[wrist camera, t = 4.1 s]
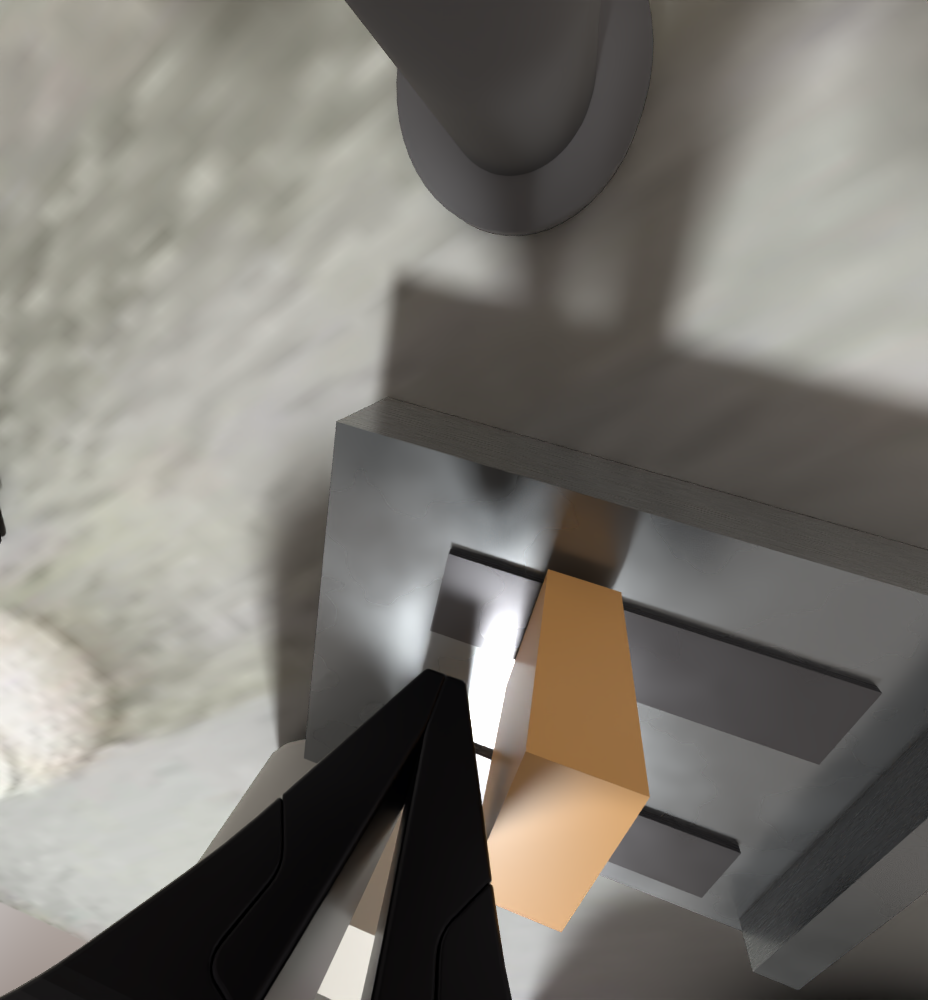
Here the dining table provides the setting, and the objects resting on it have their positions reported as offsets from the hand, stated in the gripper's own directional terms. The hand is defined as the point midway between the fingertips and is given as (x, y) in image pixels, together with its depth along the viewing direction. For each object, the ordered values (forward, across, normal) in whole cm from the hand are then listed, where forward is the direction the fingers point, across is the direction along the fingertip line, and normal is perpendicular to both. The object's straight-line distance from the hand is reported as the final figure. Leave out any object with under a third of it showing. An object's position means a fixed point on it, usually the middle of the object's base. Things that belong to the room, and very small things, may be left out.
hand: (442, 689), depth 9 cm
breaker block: (+6, -4, +2) cm, 8 cm away
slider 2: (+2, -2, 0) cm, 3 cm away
